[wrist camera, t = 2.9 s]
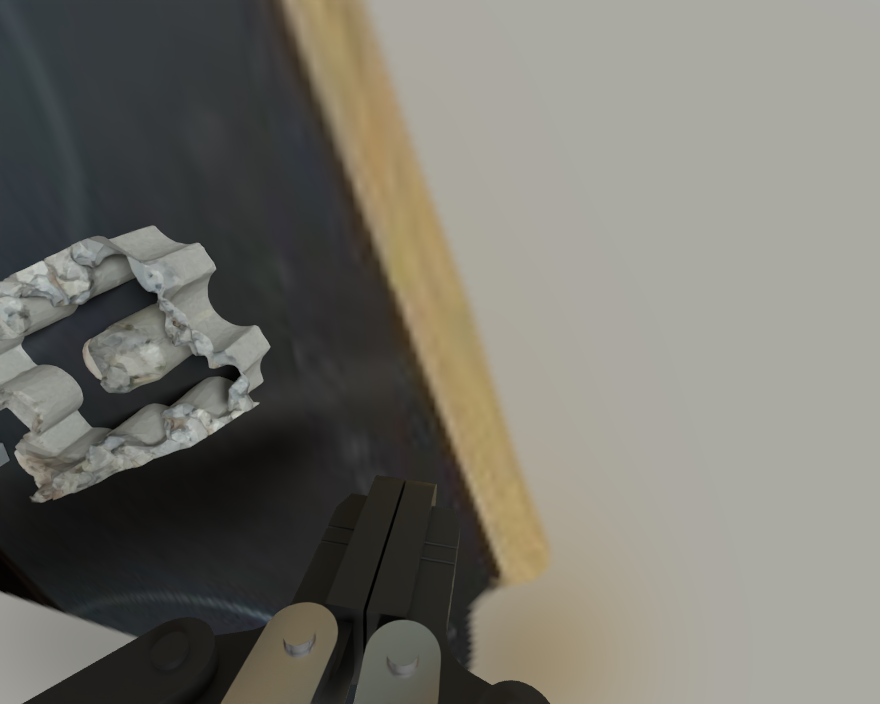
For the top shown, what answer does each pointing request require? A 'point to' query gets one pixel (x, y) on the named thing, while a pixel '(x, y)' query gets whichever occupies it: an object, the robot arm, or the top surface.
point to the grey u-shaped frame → (3, 455)
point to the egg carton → (120, 358)
